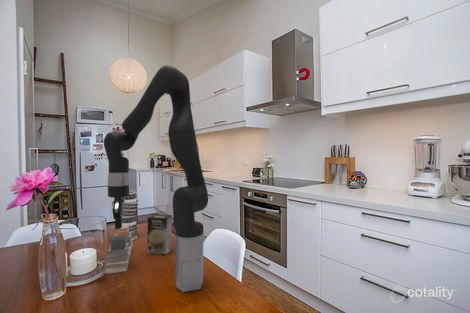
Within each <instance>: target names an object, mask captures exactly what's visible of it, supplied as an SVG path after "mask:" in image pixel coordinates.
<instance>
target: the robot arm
mask: <svg viewBox="0 0 470 313" xmlns="http://www.w3.org/2000/svg"><path fill="white" fill-rule="evenodd" d="M165 94H167V95H169V97H170V100H171V105H172V114H171V115H172V116H171V119H170V122H169V126H168V130H167V131H168V139H169V140H168V141H169V147H170V151H171V153H172V155H173V157H174V158H175V159H176V161H177V162H178V164H179V166H180V167H181V168H182V170H183V172H184V174H185V178H186V184H187V185H185V186H181V187H178V188H177V189H176V190H174V192H173V196H172V217H173V218H172V220H173V221H172V222H173V225H174V229H175V287H176V288H177V289H178V290H179V291H180V292H181V293H187V292H191V291H192V292H193V291H198V290H201V289H202V286H203V284H204V224H203V223H202V222H200V221H196V219H195V214H196V213H198V212H201V211H202V210H205V209H206V208H207V206H208V203H209V194H208V193H209V192H208V189H207V184H206V182H205V178H204V174H203V170H202V165H201V161H200V160H201V159H200V154H199V150H198V148H199V147H198V142H197V136H196V129H195V125H194V119H193V112H192V108H191V107H192V106H191V105H192V104H191V91H190V82H189V79H188V77H187V76H186V74H184V73H183V72H182V71H180V70H179V69H178V68H176V67H175V66H173V65H170V64H167V65H166V64H165V65H162V67H160V68H159V69H158V70H157V71H156V73H155V74H154V76H153V78H152V79H151V81H150V83H149V84H148V86H147V88H146V90H145V91H144V93H143V95H142V96H141V98H140V100H139V101H138V103H137V104H136V106H135V107H134V108H133V110H131V112H130V113H129V114H128V115H127V116H126V118H125V119H124V120H123V121H122V123H121V128H122V129H123V131H122V132H117V131H109V132H108V133H107V134H106V135H105V136H104V139H103V147H104V151H105V155H106V158H107V161H108V175H107V197H108V198H112V199H113V198H114V199H113V201H112V202H111V204H112V205H111V206H112V209H111V210H112V216H113V218H112V219H114V229H116V230H117V229H121V227H122V217H123V216H122V215H123V211H124V204H125V200H123V197H126V196H128V195H129V189H130V172H129V169H130V165H129V164H130V161H129V158H127V157H126V156H123V155H122V151H128V150H130V149H131V148H133V146H135V144H136V143H137V142H136V141H137V139H138V138H139V135H140V133H142V131H143V130H144V129H145V128H146V126H148V124H149V123H150V122H151V120H152V118H153V115H154V111H155V107H156V105H157V103H158V101H159V100H160V99H161V98H162V97H163V96H164V95H165Z"/></svg>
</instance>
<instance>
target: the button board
mask: <svg viewBox="0 0 470 313" xmlns="http://www.w3.org/2000/svg"><path fill="white" fill-rule="evenodd" d="M116 236H117V232H116V233H115V235H114V236H113V237H116ZM132 249H133V240H132V232H129V236H125V249H118V250H111V244H110V245H109V247H108V249H107V252H106V256H107V258H106V259H107V260H106V261H107V262H106V264H105V275H106V274H108V275H109V274H114V273H115V274H116V273H121V272H127V271H128V267H129V263H130V258H131V254H132Z"/></svg>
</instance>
